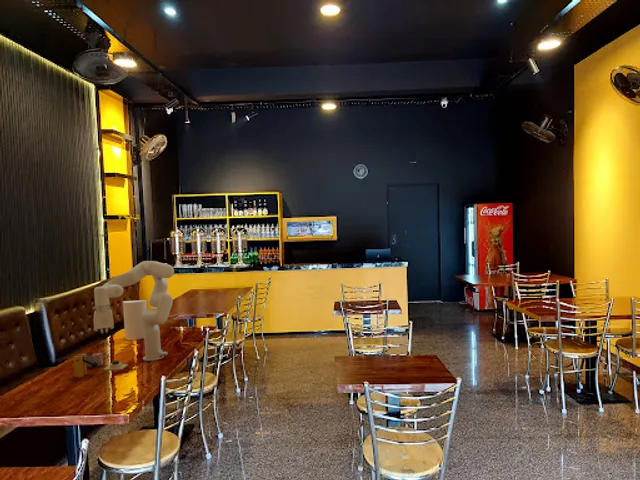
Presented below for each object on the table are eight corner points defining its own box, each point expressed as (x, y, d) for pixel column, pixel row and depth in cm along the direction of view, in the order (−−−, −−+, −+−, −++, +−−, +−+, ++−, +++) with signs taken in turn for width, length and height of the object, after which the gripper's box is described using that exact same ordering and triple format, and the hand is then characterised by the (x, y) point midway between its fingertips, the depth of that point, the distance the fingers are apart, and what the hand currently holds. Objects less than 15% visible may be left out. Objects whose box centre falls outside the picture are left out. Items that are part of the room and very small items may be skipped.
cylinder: (144, 339, 373) (142, 302, 372) (121, 340, 373) (118, 303, 372) (152, 333, 390) (150, 298, 389) (130, 334, 390) (128, 299, 389)
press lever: (97, 367, 283) (99, 362, 283) (95, 369, 280) (97, 364, 280) (77, 359, 283) (79, 354, 283) (75, 361, 280) (77, 355, 280)
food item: (105, 365, 306) (104, 349, 306) (100, 369, 298) (99, 352, 298) (82, 366, 305) (81, 350, 305) (76, 370, 297) (75, 354, 297)
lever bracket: (93, 375, 286) (91, 353, 285) (86, 379, 278) (85, 357, 277) (75, 376, 286) (73, 354, 285) (68, 380, 278) (67, 357, 277)
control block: (128, 367, 299) (127, 360, 298) (122, 372, 290) (122, 365, 289) (109, 368, 298) (109, 361, 298) (103, 373, 289) (103, 366, 289)
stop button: (119, 363, 296) (119, 360, 296) (117, 364, 292) (117, 361, 292) (113, 363, 296) (113, 360, 296) (111, 365, 292) (111, 362, 292)
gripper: (88, 310, 280) (91, 343, 281) (117, 307, 287) (119, 338, 288) (87, 308, 286) (89, 340, 287) (115, 305, 294) (117, 336, 295)
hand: (104, 339), depth 288 cm, fingers closed
